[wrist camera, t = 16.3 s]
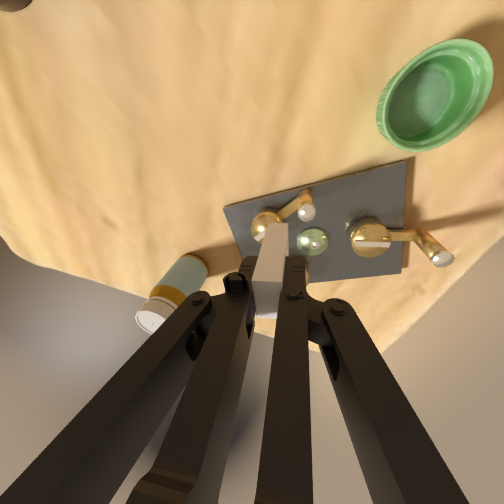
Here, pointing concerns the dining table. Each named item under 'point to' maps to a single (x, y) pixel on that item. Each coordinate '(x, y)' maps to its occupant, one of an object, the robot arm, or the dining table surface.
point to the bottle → (172, 291)
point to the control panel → (333, 222)
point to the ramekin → (436, 95)
